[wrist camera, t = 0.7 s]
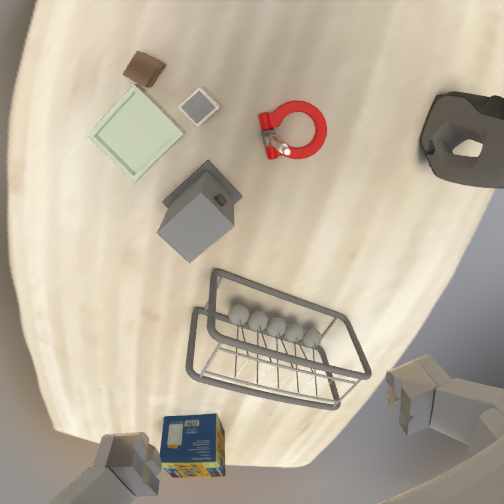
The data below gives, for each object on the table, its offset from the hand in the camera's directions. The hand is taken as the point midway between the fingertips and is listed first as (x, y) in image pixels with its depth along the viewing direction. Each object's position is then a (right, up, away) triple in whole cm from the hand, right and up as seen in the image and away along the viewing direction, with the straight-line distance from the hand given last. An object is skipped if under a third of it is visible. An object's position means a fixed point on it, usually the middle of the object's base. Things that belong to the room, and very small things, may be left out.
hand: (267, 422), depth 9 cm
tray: (-18, +24, +36) cm, 47 cm away
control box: (-8, +14, +42) cm, 45 cm away
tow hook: (+6, +24, +38) cm, 45 cm away
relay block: (-8, +27, +35) cm, 45 cm away
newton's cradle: (+4, -6, +54) cm, 55 cm away
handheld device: (+32, +27, +38) cm, 57 cm away
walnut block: (-16, +32, +32) cm, 48 cm away
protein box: (-17, -43, +72) cm, 86 cm away
